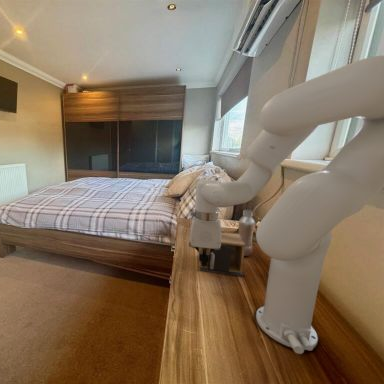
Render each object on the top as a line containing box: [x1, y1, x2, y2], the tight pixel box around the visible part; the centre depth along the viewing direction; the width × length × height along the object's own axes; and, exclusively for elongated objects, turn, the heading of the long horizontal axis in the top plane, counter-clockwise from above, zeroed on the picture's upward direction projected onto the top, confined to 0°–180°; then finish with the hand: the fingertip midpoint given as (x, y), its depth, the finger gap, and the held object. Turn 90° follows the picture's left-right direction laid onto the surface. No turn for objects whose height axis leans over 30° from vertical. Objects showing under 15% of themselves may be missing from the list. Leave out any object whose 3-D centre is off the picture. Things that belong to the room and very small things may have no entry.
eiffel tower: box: [234, 199, 257, 243], centre depth 107 cm, size 11×11×25 cm
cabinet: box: [197, 231, 245, 277], centre depth 80 cm, size 11×15×12 cm
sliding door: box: [208, 245, 231, 272], centre depth 74 cm, size 5×7×10 cm, turn 74°
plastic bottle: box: [238, 209, 257, 257], centre depth 88 cm, size 6×7×20 cm
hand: (203, 262), depth 74 cm, fingers closed
